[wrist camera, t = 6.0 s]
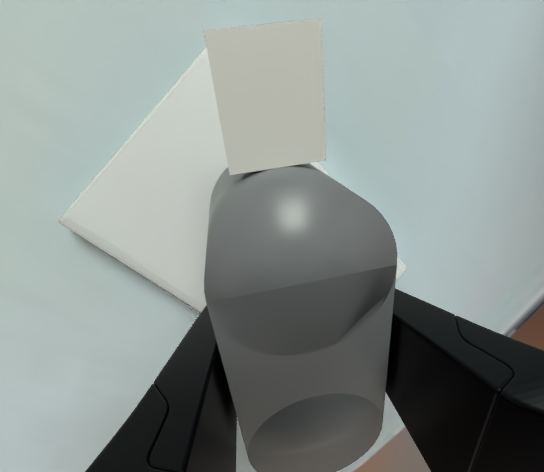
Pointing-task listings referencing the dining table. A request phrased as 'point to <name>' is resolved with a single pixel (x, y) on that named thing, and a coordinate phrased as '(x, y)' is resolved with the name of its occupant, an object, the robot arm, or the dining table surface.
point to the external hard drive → (162, 190)
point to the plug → (293, 261)
